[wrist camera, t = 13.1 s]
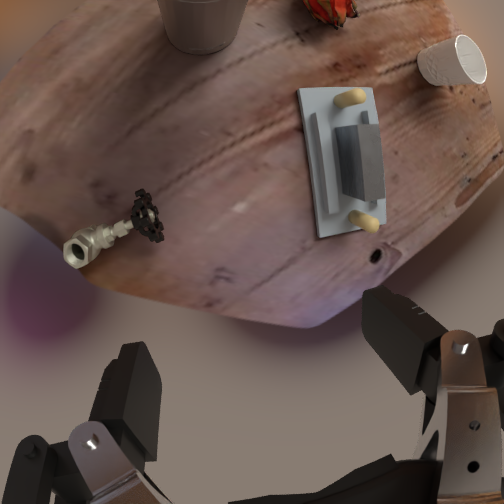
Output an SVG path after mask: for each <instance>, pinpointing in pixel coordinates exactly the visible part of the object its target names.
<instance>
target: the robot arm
mask: <svg viewBox="0 0 504 504" xmlns="http://www.w3.org/2000/svg"><path fill="white" fill-rule="evenodd" d="M157 1H158V5H159V8H160V12H161V15H162V19H163V23H164V27H165V30H166V33H167V36H168V39H169V41H170V42H171V43H172V44H173V46H175V47H176V48H177V49H179V50H181V51H183V52H185V53H189V54H196V55H203V54H210V53H214V52H217V51H219V50H221V49H223V48H224V47H226V46H227V45H229V44H230V43H231V42H232V41H233V39H234V37H235V36H236V34H237V31H238V28H239V25H240V22H241V20H242V17H243V14H244V11H245V8H246V5H247V2H248V0H157ZM362 332H363V334H364V337H365V339H366V341H367V342H368V343H369V344H370V345H371V347H372V348H373V349H374V350H375V352H376V353H377V354H378V355H379V357H380V358H381V359H382V360H383V361H384V363H385V364H386V365H387V366H388V368H389V369H390V370H391V371H392V372H393V374H394V375H395V376H396V378H397V379H398V380H399V381H400V383H401V384H402V385H403V386H404V388H405V389H406V390H407V392H408V393H409V394H410V395H413V394H415V393H417V392H419V391H421V390H422V391H423V392H424V393H425V394H424V398H423V404H422V414H421V422H420V430H419V438H418V442H417V446H416V449H415V452H414V455H413V458H412V459H409V460H400V461H395V460H394V458H393V456H392V455H391V454H389V455H387V456H385V457H383V458H381V459H378V460H377V461H374V462H372V463H369V464H367V465H364V466H362V467H360V468H357V469H355V470H353V471H352V472H350V473H349V474H347V475H346V476H344V477H342V478H341V479H339V480H338V481H336V482H334V483H333V484H331V485H329V486H327V487H326V488H324V489H322V490H321V491H318V492H316V493H306V494H289V495H268V496H262V497H257V498H252V499H246V500H240V501H234V502H228V504H504V477H501V475H502V473H501V472H502V439H501V428H502V429H503V431H504V319H501V320H499V321H497V323H496V324H495V326H494V329H493V332H492V334H491V335H487V336H483V337H479V338H476V337H475V336H474V335H473V334H472V333H470V332H468V331H464V330H452V331H448V330H447V329H446V328H445V327H443V326H442V325H441V324H440V323H439V322H438V321H436V320H435V319H434V318H433V317H431V316H430V315H429V314H428V313H425V311H424V310H423V309H422V308H420V307H418V305H416V304H415V303H414V302H413V301H411V300H410V299H409V298H407V297H404V296H402V295H399V294H394V293H393V292H391V291H390V290H389V289H388V288H386V287H385V286H383V285H381V286H378V287H375V288H371V289H368V290H365V291H364V292H363V295H362ZM101 381H102V382H100V385H99V388H98V389H99V391H97V394H96V397H95V400H94V404H93V407H92V410H91V414H90V417H89V420H88V422H84V423H82V424H80V425H78V426H77V427H76V428H75V429H74V430H73V431H72V432H71V434H70V436H69V439H68V441H64V442H60V443H56V444H51V445H49V444H48V443H47V442H46V441H45V440H44V439H43V438H42V437H41V436H39V435H31V436H28V437H26V438H24V439H23V440H22V441H21V442H20V443H19V444H18V446H17V449H16V451H15V455H14V458H13V461H12V464H11V468H10V471H9V475H8V479H7V483H6V487H5V491H4V495H3V499H2V504H49V502H50V495H51V491H52V492H53V493H55V494H56V495H55V503H54V504H174V503H173V502H172V501H171V500H170V499H169V498H168V497H167V496H166V494H165V493H164V492H163V491H162V490H161V489H160V488H159V487H158V486H157V484H156V483H155V482H154V481H153V480H152V479H151V477H150V476H149V475H148V474H147V473H146V472H145V471H144V467H145V462H149V461H157V444H158V429H159V415H160V404H161V394H162V382H161V378H160V374H159V372H158V370H157V368H156V366H155V364H154V362H153V359H152V358H151V355H150V353H149V351H148V349H147V346H146V344H145V343H144V342H143V341H141V342H135V343H128V344H123V345H122V347H121V350H120V353H119V356H118V359H114V360H112V361H111V362H110V364H109V365H108V366H107V367H106V369H105V370H104V373H103V376H102V379H101Z"/></svg>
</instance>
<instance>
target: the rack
mask: <svg viewBox="0 0 504 504" xmlns="http://www.w3.org/2000/svg"><path fill="white" fill-rule="evenodd" d="M297 94H298V99H299V105H300V110H301V116H302V122H303V128H304V134H305V141H306V147H307V154H308V161H309V168H310V176H311V184H312V192H313V200H314V209H315V218H316V227H317V236H318V237H320V238H322V237H326V236H331V235H336V234H340V233H345V232H349V231H354V230H359V229H364V230H366V231H368V232H369V233H375V232H376V231H377V230H378V229H379V225H382V224H386V192H385V199H379V200H373V201H367V202H364V201H362V200H359V199H356V198H353V197H350V196H347V195H344V194H343V193H342V183H341V173H340V164H339V155H338V147H337V140H336V133H335V127H342V126H349V125H357V124H379V123H378V116H377V110H376V107H375V101H374V95H373V90H372V88H362V87H323V88H299V89H298V90H297ZM381 147H382V146H381ZM382 156H383V155H382ZM383 168H384V166H383ZM384 181H385V178H384Z"/></svg>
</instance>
